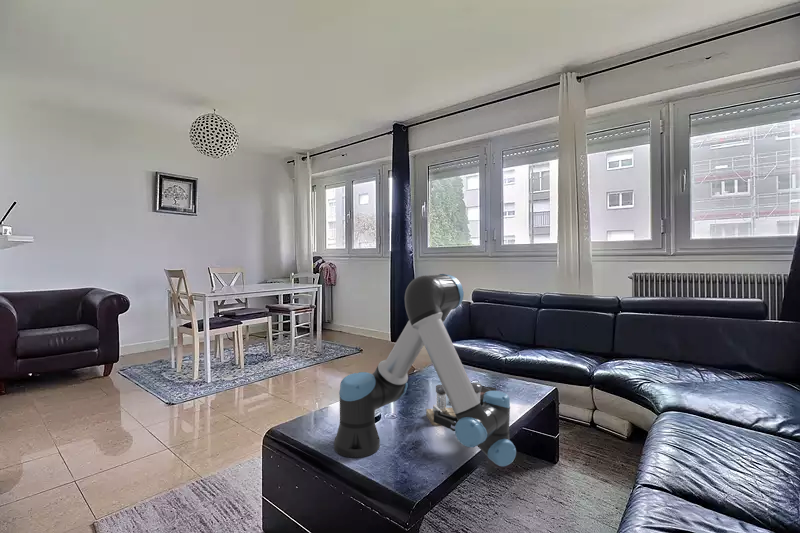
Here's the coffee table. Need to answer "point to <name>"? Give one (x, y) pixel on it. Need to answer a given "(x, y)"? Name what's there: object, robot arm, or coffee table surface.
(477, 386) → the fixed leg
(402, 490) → the coffee table surface
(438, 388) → the salt shaker
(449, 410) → the wooden tray
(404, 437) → the coffee table surface
